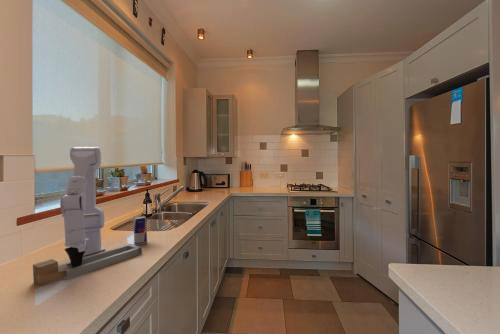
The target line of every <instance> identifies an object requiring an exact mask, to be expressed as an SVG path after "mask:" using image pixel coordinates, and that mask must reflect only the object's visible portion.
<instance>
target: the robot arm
mask: <svg viewBox="0 0 500 334" xmlns="http://www.w3.org/2000/svg"><path fill="white" fill-rule="evenodd" d="M101 155H102V154H101V148H100V147H99V146H72V147H71V148H70V149H69V158H70V160H71V162H72V164H73V165H74V167H73V175H72V176H71V177H70V178H69V179H68V183H67V186H66V191H65V195H63V196H61V199H60V204H59V205H60V210H61V215H62V218H63V222H64V223H63V225H64V247H66V248H64V251H65V252H66V254H67V257H68V258H69V262H71V265H72V268H74V267H77V266H81V264H82V259H83V258H84V256H90V255H93V254H97V253H100V252H104V251H106V248H105V247H103V246H102V237H101V236H102V235H101V234H102V233H101V232H102V231H101V229H103V228H104V226H105V215H104V210H103V209H102V208H100V207H98V206H97V195H96V194H97V193H96V192H97V191H96V190H97V189H96V184H97V183H96V171H97V168H99V167H101V163H102V162H101V160H102V159H101V158H102V157H101Z"/></svg>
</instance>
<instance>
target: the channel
mask: <svg viewBox="0 0 500 334" xmlns="http://www.w3.org/2000/svg"><path fill="white" fill-rule="evenodd" d="M142 254H143V247H142V246H140V245H135V244H133V243H127V244H124V245H122V246H117V247H115V248H111V249H108V250H103V251H100V252H96V253H93V254H90V255H86V256H83V259H82V264H81V266H77V267H74V268H71V269H68V270H65V273H66V278H65V279H67V280H69V279H73V278H75V277H78V276H81V275H84V274H87V273H89V272H92V271H95V270H98V269H101V268H103V267H107V266H110V265H113V264H116V263H118V262H122V261H124V260H127V259H130V258H133V257H136V256H139V255H142ZM64 265H67V266H70V267H72V265H71V262H70V261H68V262H65V263H61V264H58V267H61V266H64Z"/></svg>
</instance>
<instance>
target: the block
mask: <svg viewBox="0 0 500 334" xmlns="http://www.w3.org/2000/svg"><path fill="white" fill-rule="evenodd" d="M58 265H59V262H58V261H57V260H55V259H53V258H50V259H47V260H43V261H41V262H40V261H39V262H37V263H34V264H32V275H33V276H32V277H33V278H32V279H33V284H34V285H36V286H37V287H39V288H40V287H44V286H46V285H49V284H51V283H52V284H53V283H54V282H57V281H60V280H63V279H67V278H66V273H65V270H68V269H71V268H72V267H70V266H67V265H64V266H61V267H58Z"/></svg>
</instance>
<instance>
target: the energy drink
mask: <svg viewBox="0 0 500 334" xmlns="http://www.w3.org/2000/svg"><path fill="white" fill-rule="evenodd" d="M147 229H148V228H147V218H146V216H145V215H140V216H135V217H134V218H133V242H134V243H133V245H136V246H143V245H145V244H147V243H148V232H147Z"/></svg>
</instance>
